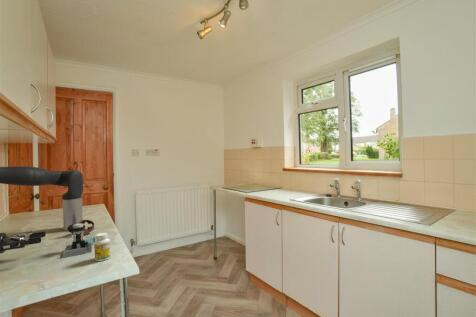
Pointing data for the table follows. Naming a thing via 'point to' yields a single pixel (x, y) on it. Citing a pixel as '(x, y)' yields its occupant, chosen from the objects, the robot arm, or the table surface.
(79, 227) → the push button
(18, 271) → the table surface
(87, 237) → the clip
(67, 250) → the tray
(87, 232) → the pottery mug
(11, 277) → the table surface
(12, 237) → the robot arm
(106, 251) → the supplement bottle
